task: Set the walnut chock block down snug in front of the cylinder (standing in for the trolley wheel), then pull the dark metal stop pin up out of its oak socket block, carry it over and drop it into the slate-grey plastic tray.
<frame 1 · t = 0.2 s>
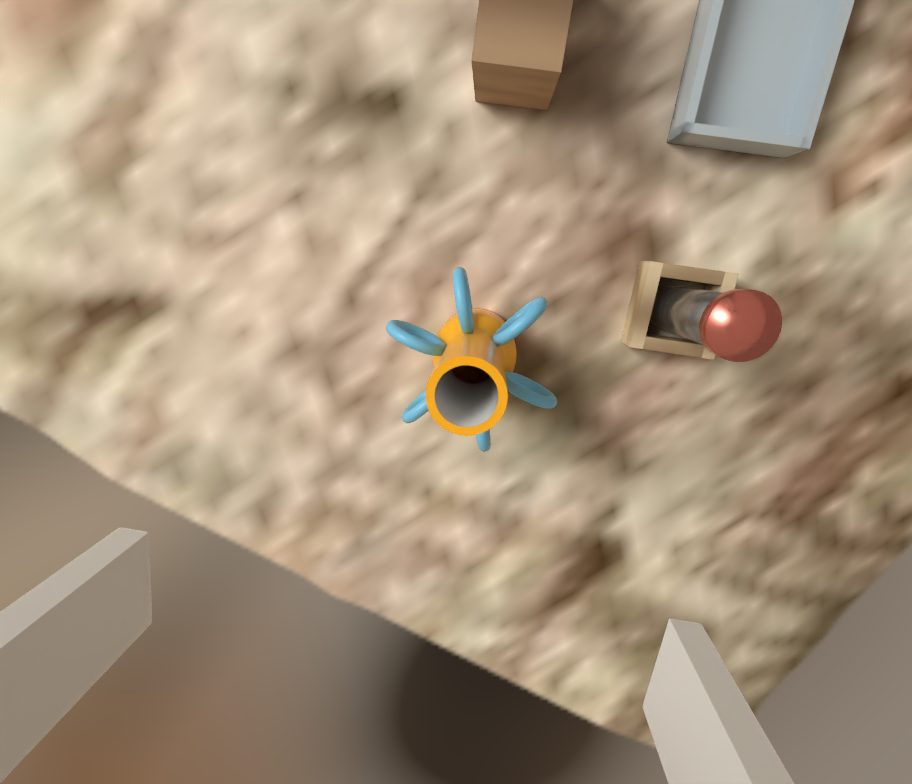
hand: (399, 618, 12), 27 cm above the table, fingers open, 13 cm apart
chock: (521, 40, 33), on the table
socket block: (670, 308, 36), on the table
tray: (751, 50, 32), on the table
stop pin: (700, 315, 31), in the socket block
cylinder: (475, 345, 38), on the table
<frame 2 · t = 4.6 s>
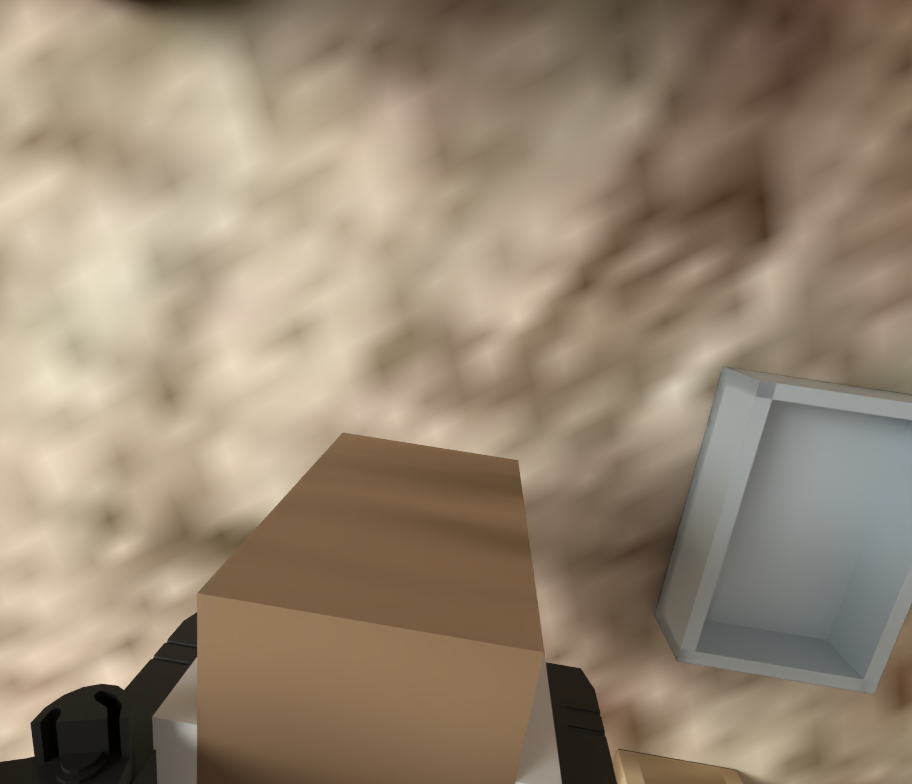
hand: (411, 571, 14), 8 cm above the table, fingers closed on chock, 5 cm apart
chock: (413, 569, 15), point 7 cm above the table, touching gripper
tray: (778, 513, 21), on the table
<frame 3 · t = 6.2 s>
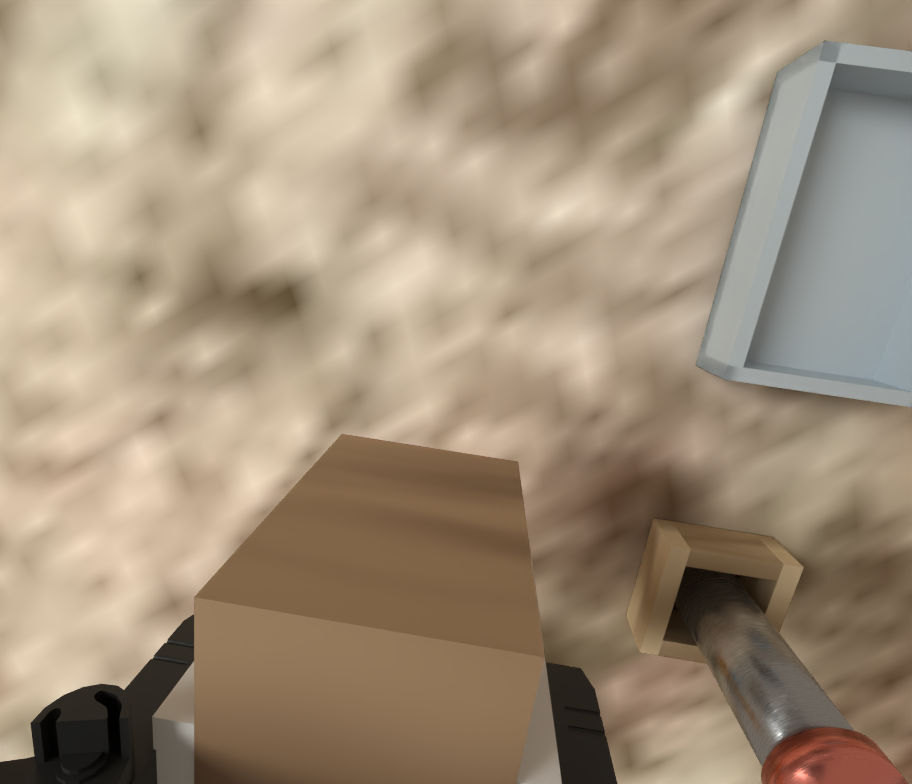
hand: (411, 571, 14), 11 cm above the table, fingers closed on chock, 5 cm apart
chock: (412, 571, 15), point 10 cm above the table, touching gripper
socket block: (696, 578, 25), on the table
tray: (828, 242, 21), on the table
stop pin: (751, 662, 20), in the socket block
when the fingers open (0 cm above the table, at t = 8.2 s): chock stays where it is, on the table.
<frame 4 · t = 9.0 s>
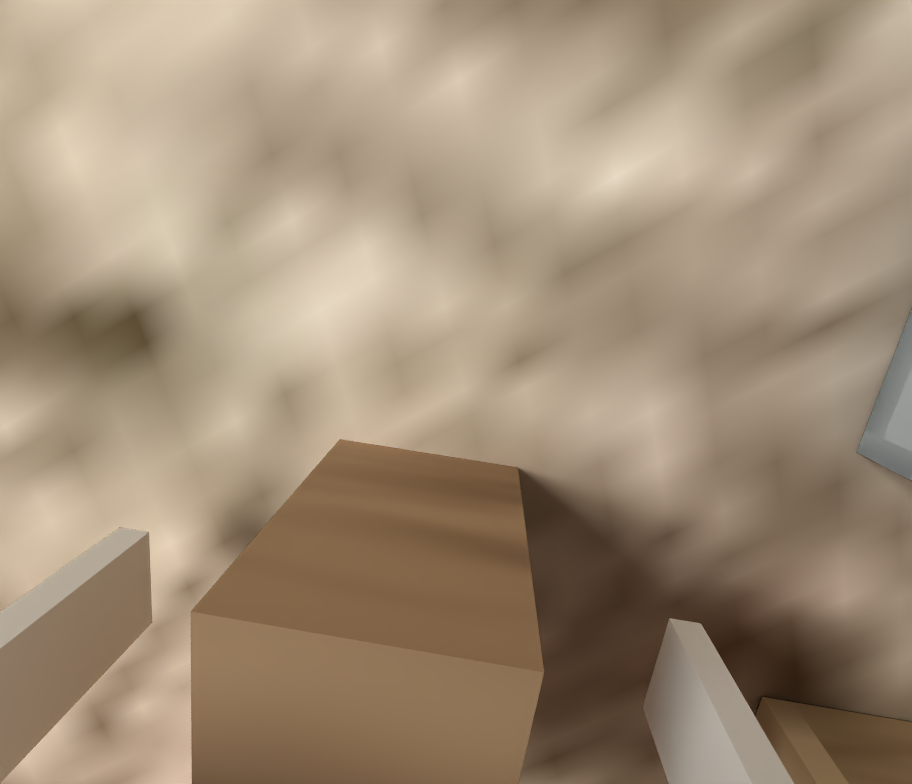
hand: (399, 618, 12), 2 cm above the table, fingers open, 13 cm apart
chock: (412, 575, 15), on the table
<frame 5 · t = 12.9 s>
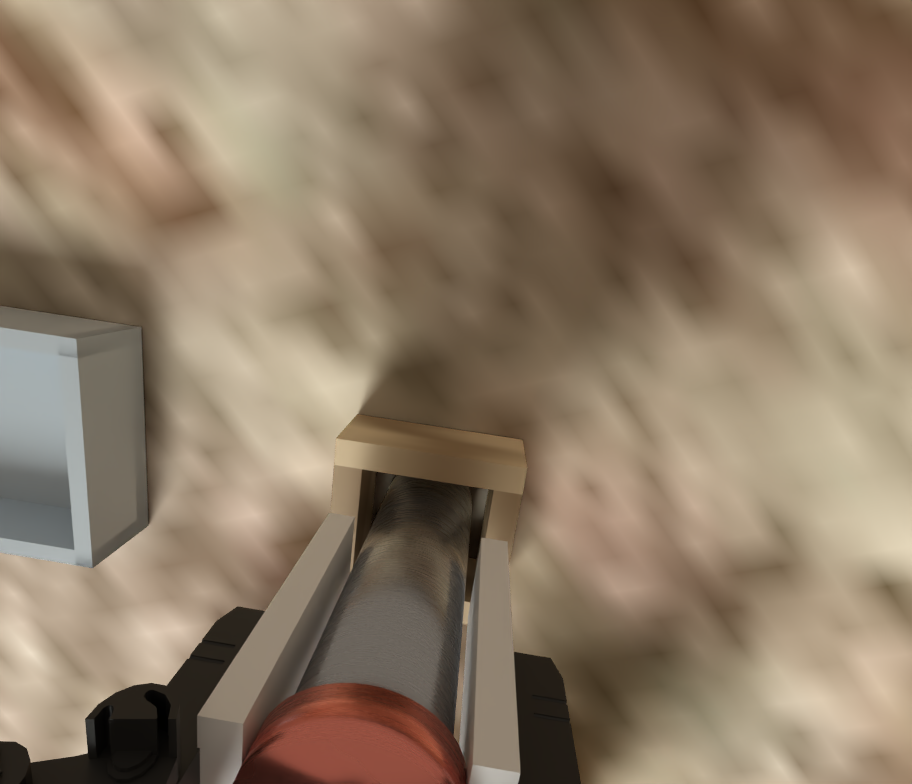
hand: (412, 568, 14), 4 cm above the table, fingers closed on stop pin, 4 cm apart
socket block: (429, 501, 18), on the table
stop pin: (404, 599, 13), in the socket block, touching gripper
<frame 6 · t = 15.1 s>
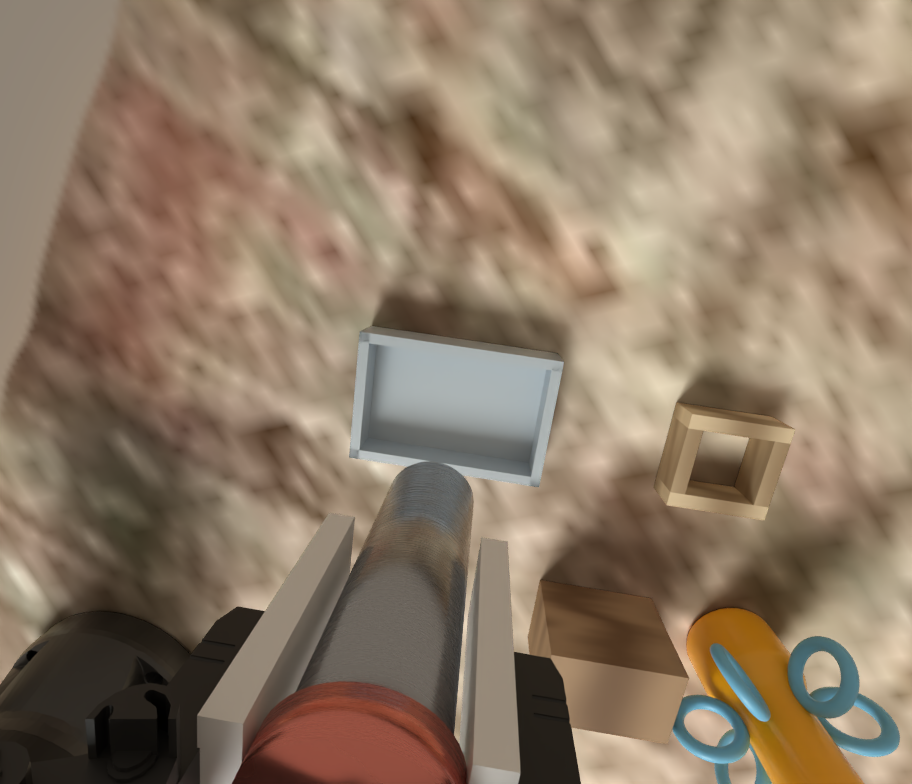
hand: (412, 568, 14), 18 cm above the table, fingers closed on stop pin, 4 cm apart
chock: (587, 617, 36), on the table
socket block: (710, 452, 32), on the table
tray: (455, 399, 32), on the table
stop pin: (405, 598, 13), point 20 cm above the table, touching gripper
cylinder: (725, 639, 35), on the table
when the fingers open (6 cm above the table, at t = 17.5 s): stop pin drops 1 cm, resting on tray.
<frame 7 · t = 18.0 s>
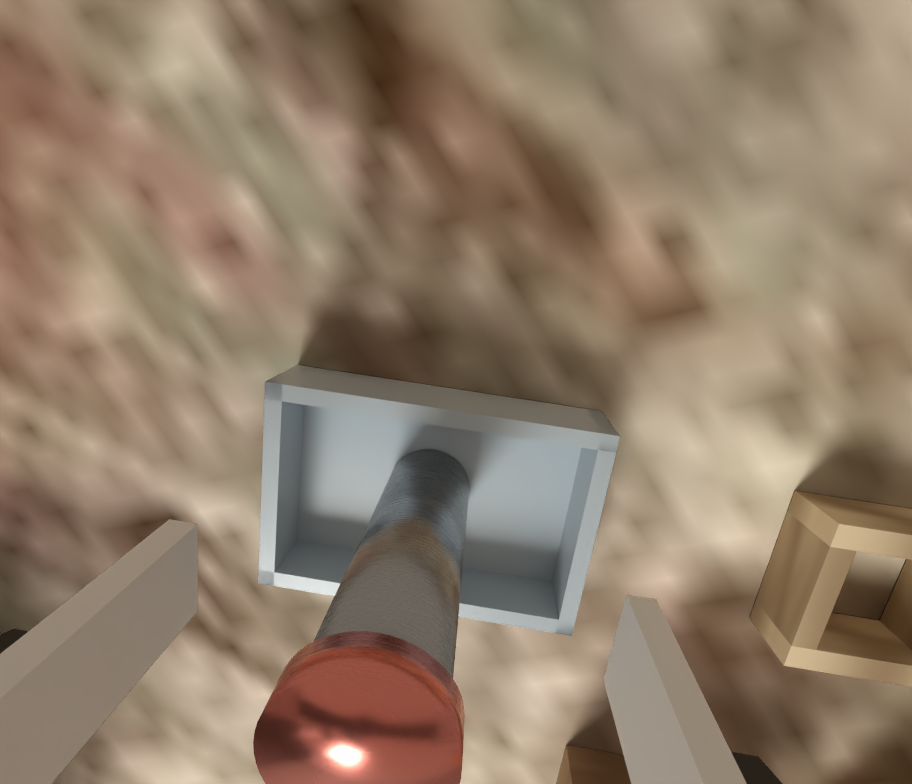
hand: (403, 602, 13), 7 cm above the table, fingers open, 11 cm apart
socket block: (845, 569, 20), on the table
tray: (435, 480, 20), on the table
stop pin: (406, 571, 14), in the tray, point 6 cm above the table
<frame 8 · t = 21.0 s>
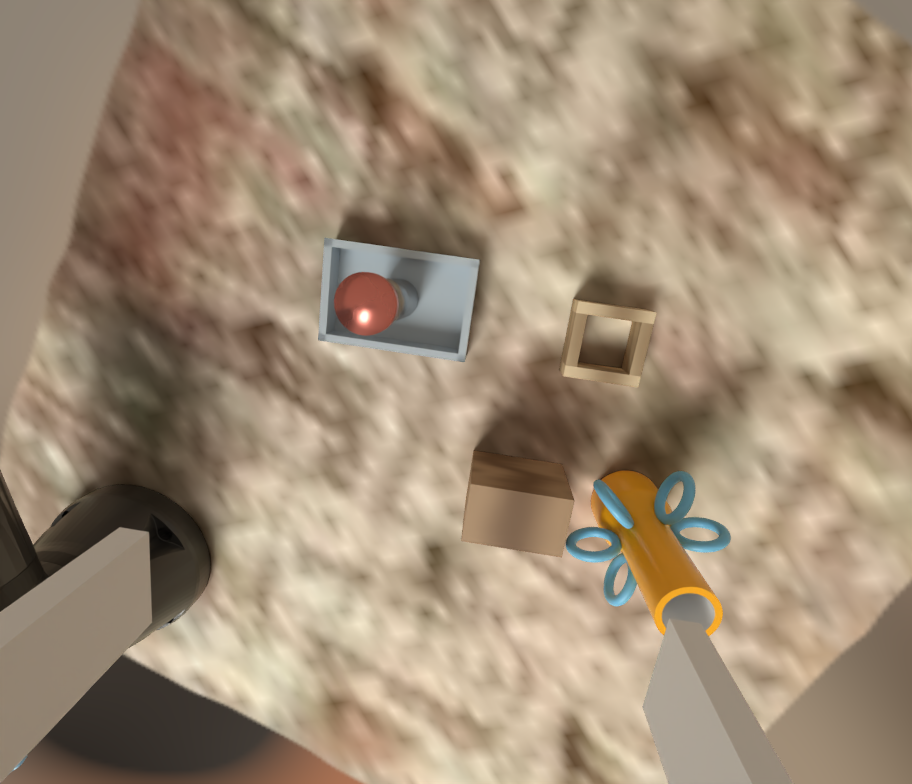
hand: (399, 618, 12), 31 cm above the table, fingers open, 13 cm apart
chock: (512, 481, 44), on the table
socket block: (601, 340, 40), on the table
tray: (402, 298, 41), on the table
stop pin: (384, 301, 35), in the tray, point 6 cm above the table
cylinder: (622, 498, 44), on the table
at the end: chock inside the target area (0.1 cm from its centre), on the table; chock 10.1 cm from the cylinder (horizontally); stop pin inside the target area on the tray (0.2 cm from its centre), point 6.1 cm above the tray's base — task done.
